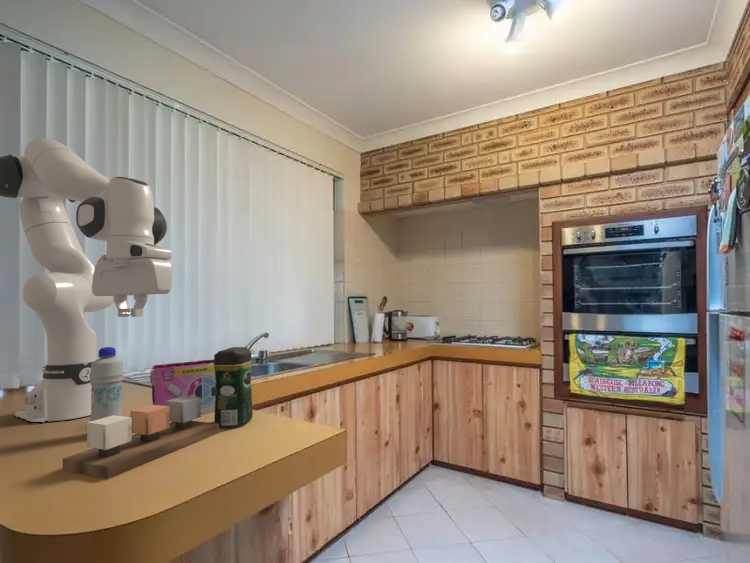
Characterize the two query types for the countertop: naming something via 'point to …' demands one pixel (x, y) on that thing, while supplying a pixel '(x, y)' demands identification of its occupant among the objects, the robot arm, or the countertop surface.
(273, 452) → the countertop surface
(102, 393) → the bottle
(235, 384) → the coffee jar
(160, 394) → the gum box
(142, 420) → the terracotta button
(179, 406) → the slate-grey button
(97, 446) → the cream button
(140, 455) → the button board
